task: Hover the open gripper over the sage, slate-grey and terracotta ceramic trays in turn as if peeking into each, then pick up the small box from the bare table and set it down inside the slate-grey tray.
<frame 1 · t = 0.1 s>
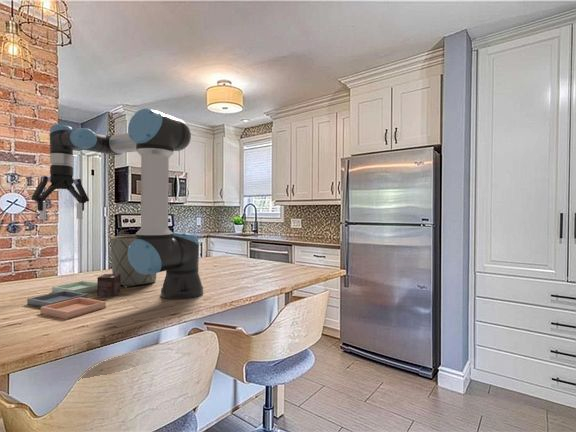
hand: (62, 219, 132), 28 cm above the table, fingers open, 13 cm apart
tray b: (58, 302, 114), on the table
box: (109, 295, 124), on the table
planter: (135, 283, 145), on the table
tray a: (74, 310, 105), on the table
tray c: (78, 290, 131), on the table
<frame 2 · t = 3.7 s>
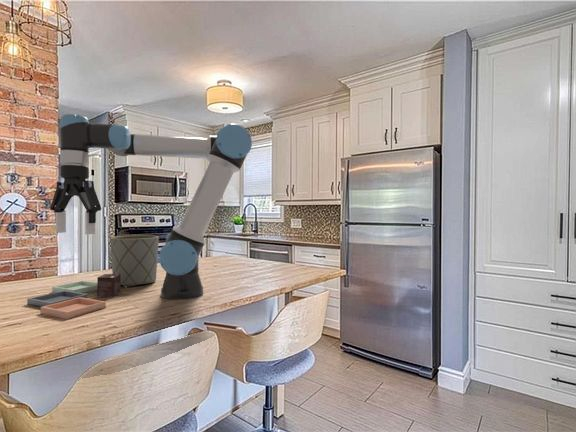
hand: (75, 233, 105), 24 cm above the table, fingers open, 13 cm apart
nothing on the table moved.
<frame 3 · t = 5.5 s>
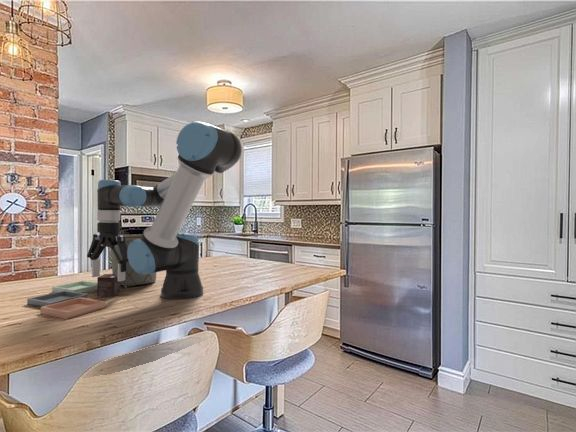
hand: (108, 278, 124), 6 cm above the table, fingers open, 13 cm apart
nothing on the table moved.
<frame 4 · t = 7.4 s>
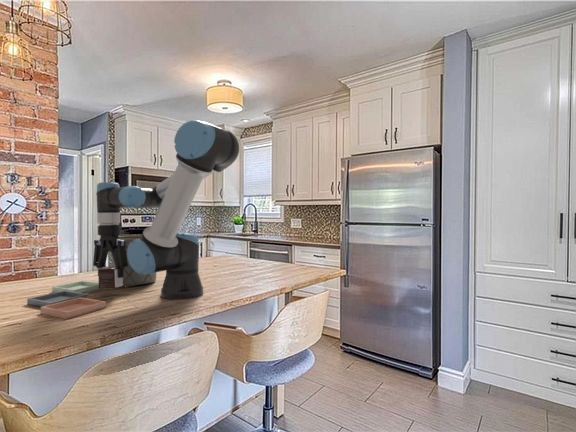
hand: (110, 285, 124), 4 cm above the table, fingers closed on box, 8 cm apart
box: (110, 287, 124), point 3 cm above the table, touching gripper
everything else where it was.
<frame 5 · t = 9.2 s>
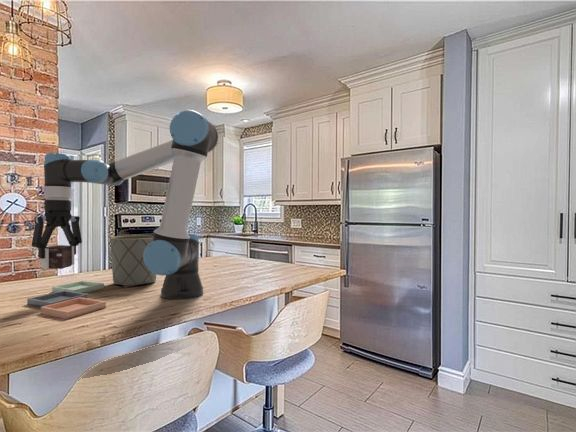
hand: (58, 266, 114), 12 cm above the table, fingers closed on box, 8 cm apart
box: (58, 268, 114), point 12 cm above the table, touching gripper
everything else where it was.
when the fingers open (2 cm above the table, at t = 11.3 s): box drops 1 cm, resting on tray b.
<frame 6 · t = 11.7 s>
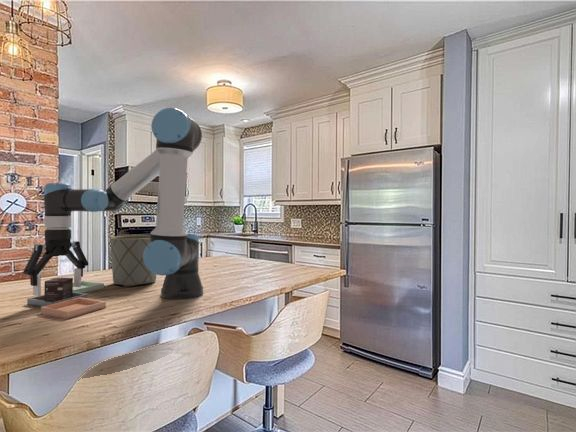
hand: (58, 290, 114), 4 cm above the table, fingers open, 13 cm apart
box: (58, 301, 114), resting on tray b
everything else where it was.
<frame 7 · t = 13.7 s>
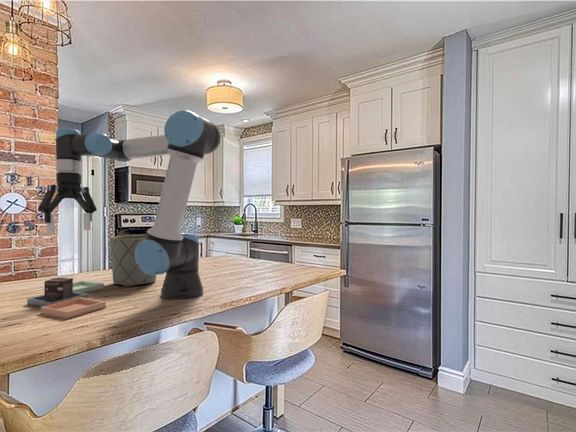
hand: (69, 231, 121), 24 cm above the table, fingers open, 13 cm apart
nothing on the table moved.
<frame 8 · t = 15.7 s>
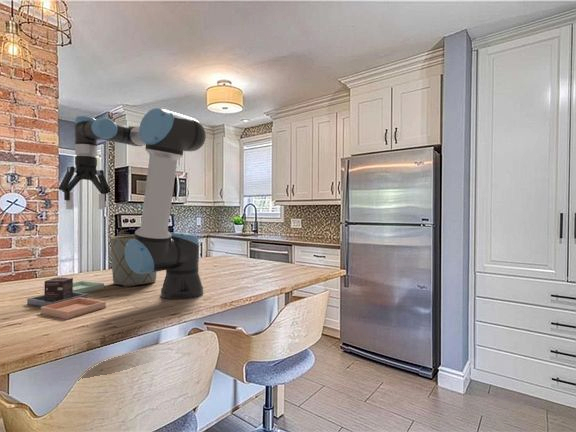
hand: (86, 209, 134), 32 cm above the table, fingers open, 13 cm apart
nothing on the table moved.
at the end: box inside the target area on the tray b (0.2 cm from its centre), point 0.3 cm above the tray b's base; box tilted 0°; the gripper is holding nothing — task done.
